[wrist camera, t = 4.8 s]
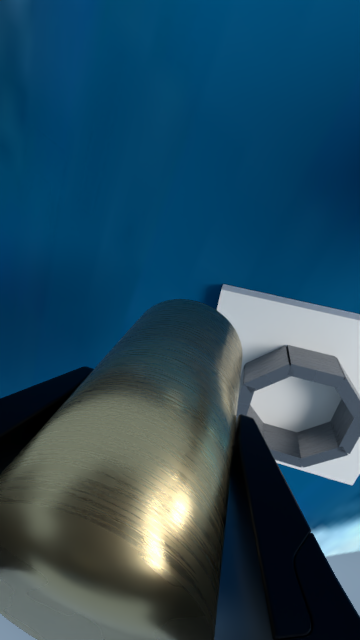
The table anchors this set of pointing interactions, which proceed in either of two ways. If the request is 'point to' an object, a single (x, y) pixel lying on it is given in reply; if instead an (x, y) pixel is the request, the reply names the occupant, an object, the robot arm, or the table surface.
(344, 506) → the table surface
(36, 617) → the brass cylinder
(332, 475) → the socket base
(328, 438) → the socket collar
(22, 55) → the table surface
